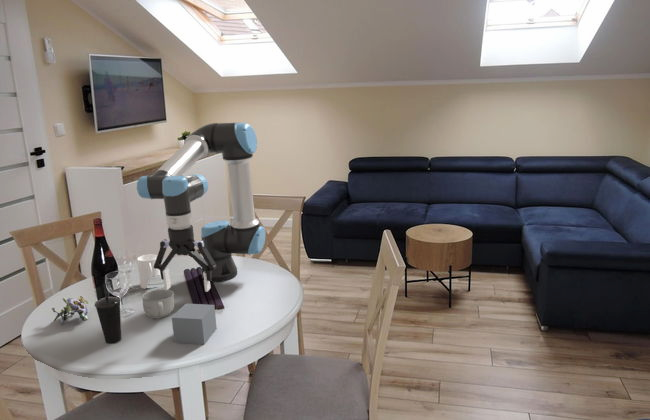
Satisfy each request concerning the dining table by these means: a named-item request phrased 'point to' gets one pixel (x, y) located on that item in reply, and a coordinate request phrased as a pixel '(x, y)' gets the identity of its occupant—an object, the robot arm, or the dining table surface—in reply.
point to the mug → (147, 268)
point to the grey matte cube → (194, 323)
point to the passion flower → (73, 309)
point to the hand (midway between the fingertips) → (187, 289)
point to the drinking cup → (109, 317)
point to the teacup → (158, 303)
